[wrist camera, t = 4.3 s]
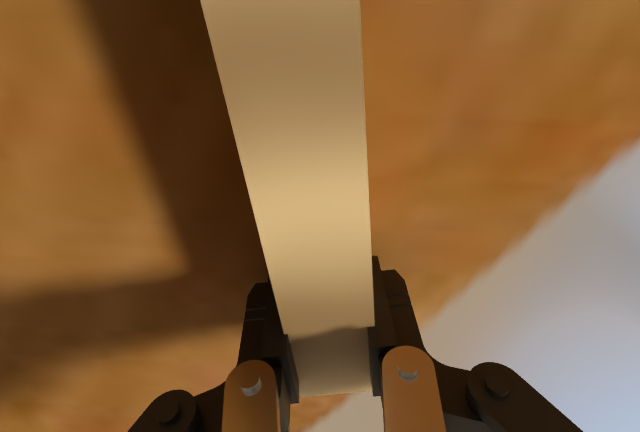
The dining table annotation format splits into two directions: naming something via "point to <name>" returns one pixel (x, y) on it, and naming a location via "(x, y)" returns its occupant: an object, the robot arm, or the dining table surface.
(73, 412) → the dining table surface
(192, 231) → the dining table surface
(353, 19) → the beige bar
